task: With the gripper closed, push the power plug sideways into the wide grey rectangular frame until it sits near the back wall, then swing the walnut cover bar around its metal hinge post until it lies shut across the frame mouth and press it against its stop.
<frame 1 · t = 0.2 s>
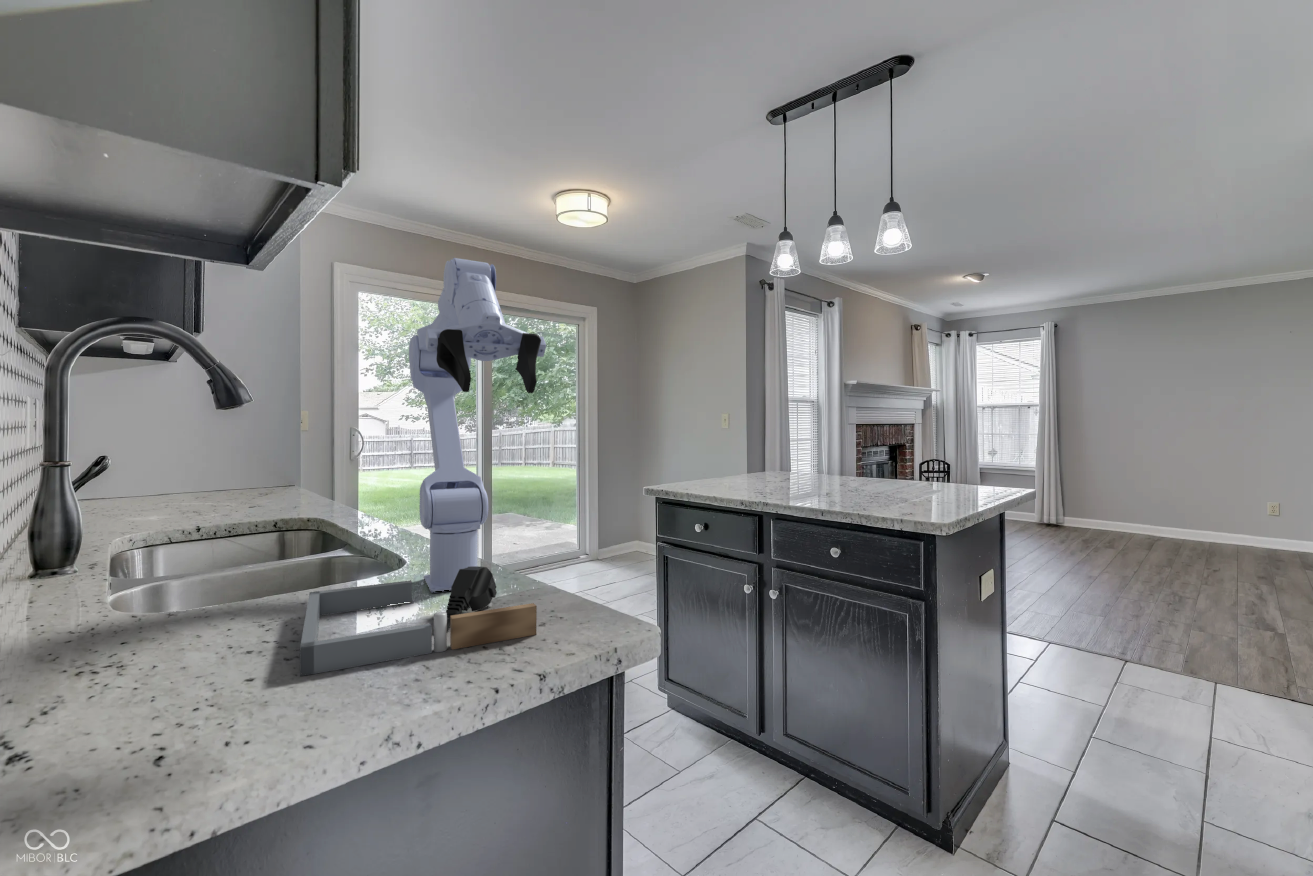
hand: (500, 386, 67), 31 cm above the counter, tool tilted 45°, fingers open, 7 cm apart
power plug: (464, 621, 76), on the counter
grey rectangular frame: (373, 630, 71), on the counter
gate: (494, 625, 69), point 2 cm above the counter, hinge at 90.0°
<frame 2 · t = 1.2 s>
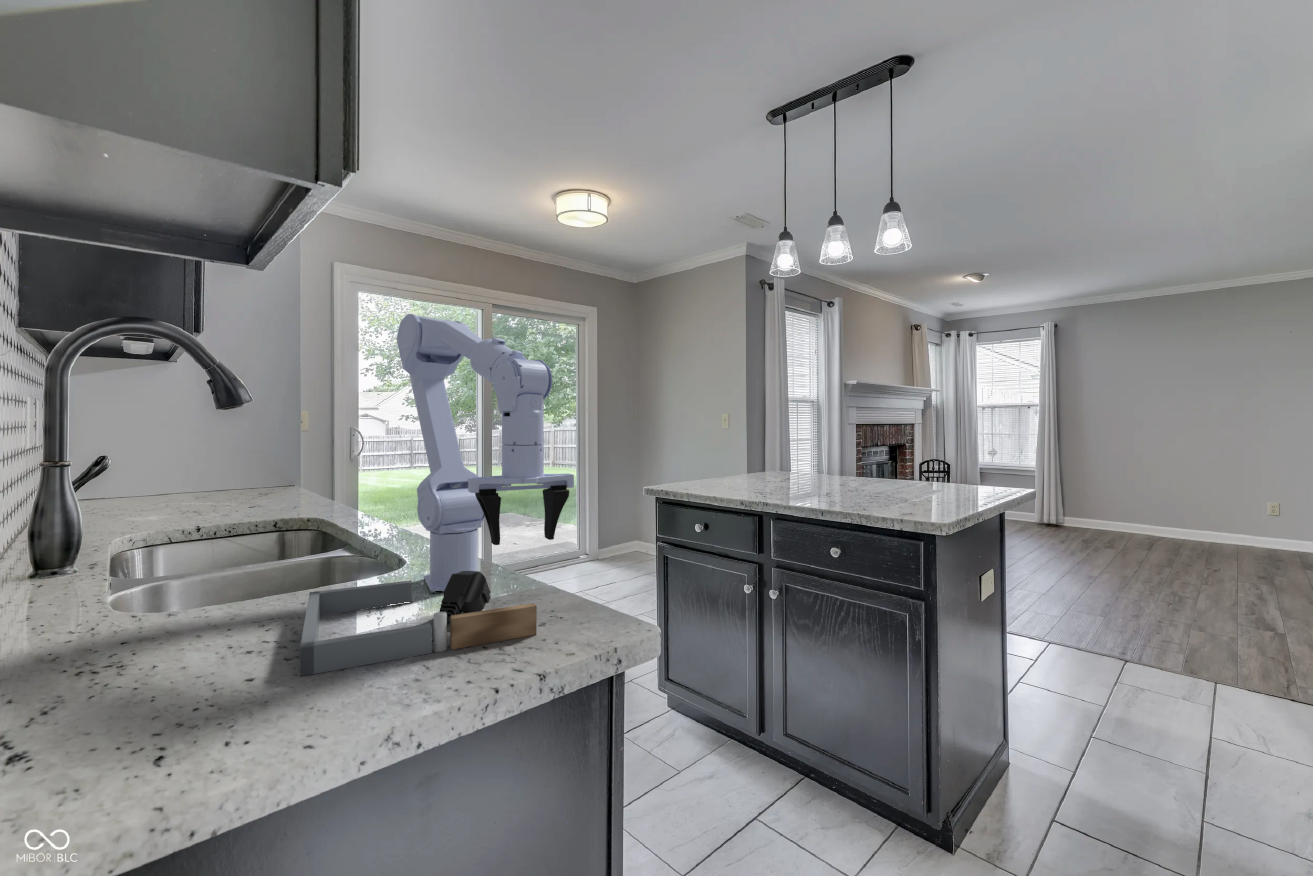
hand: (523, 541, 80), 10 cm above the counter, tool pointing down, fingers open, 7 cm apart
power plug: (456, 628, 74), on the counter
everything else where it was.
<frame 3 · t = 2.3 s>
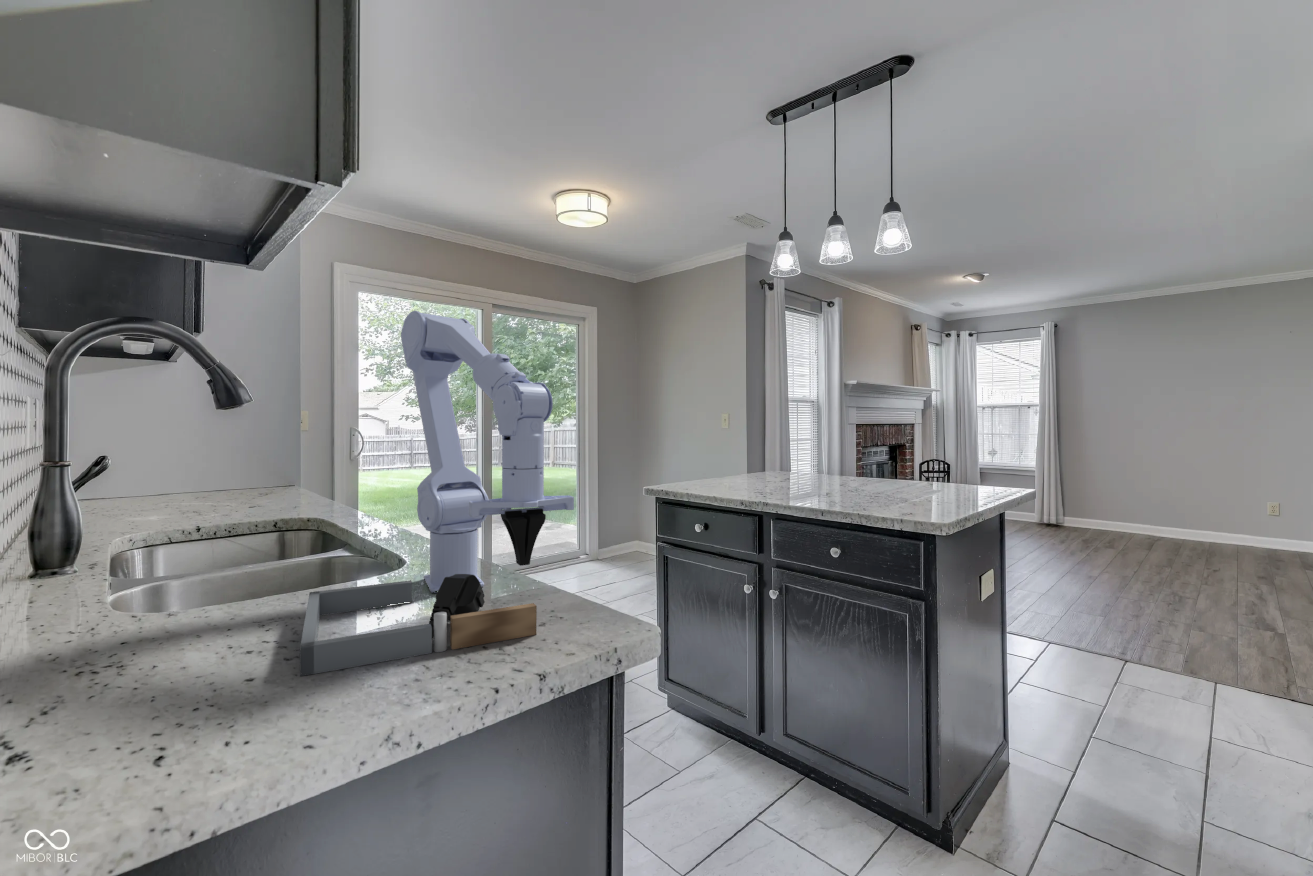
hand: (523, 563, 80), 6 cm above the counter, tool pointing down, fingers closed
power plug: (449, 633, 72), on the counter, touching grey rectangular frame
everything else where it was.
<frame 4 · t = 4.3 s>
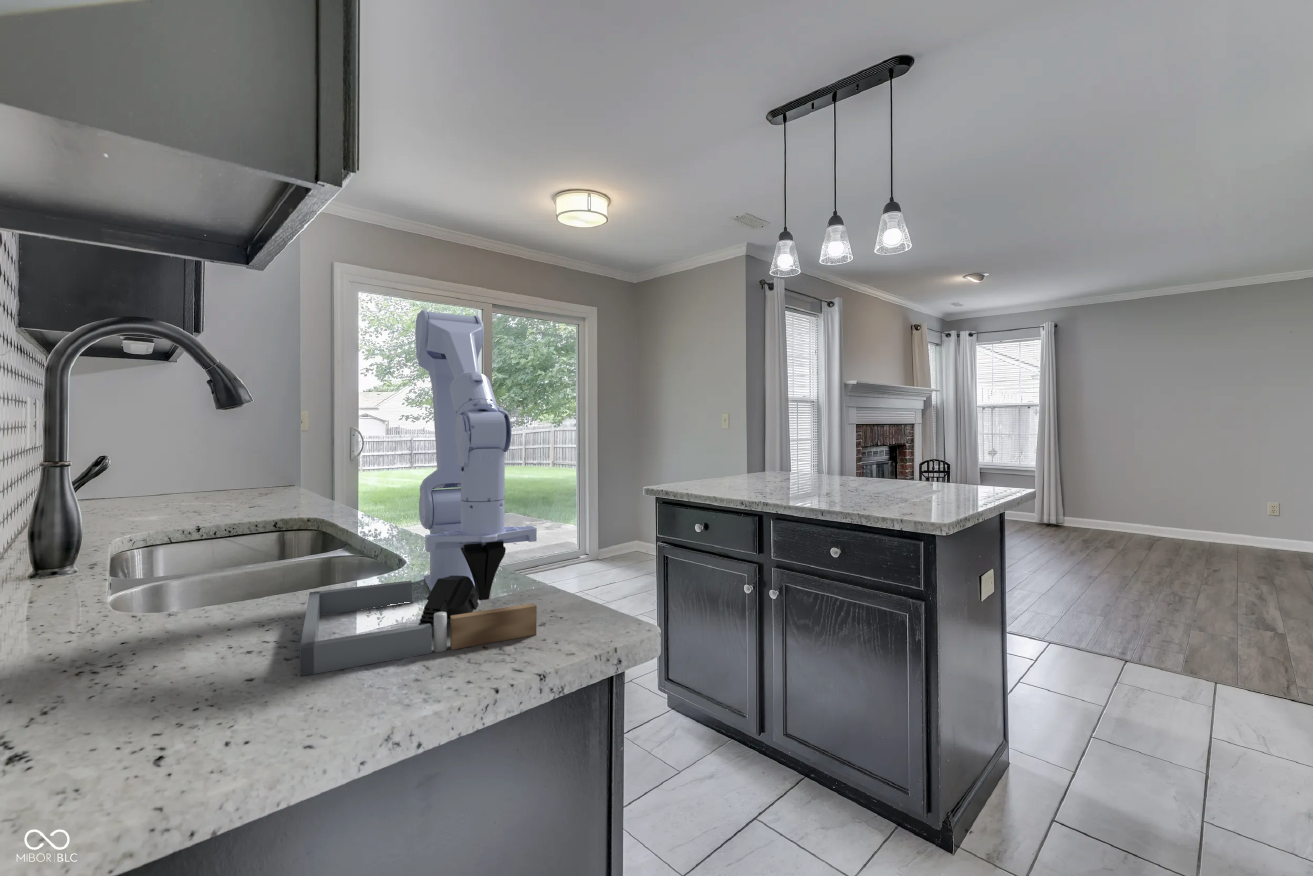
hand: (482, 598, 78), 2 cm above the counter, tool pointing down, fingers closed
power plug: (441, 635, 71), on the counter, touching gripper
everything else where it was.
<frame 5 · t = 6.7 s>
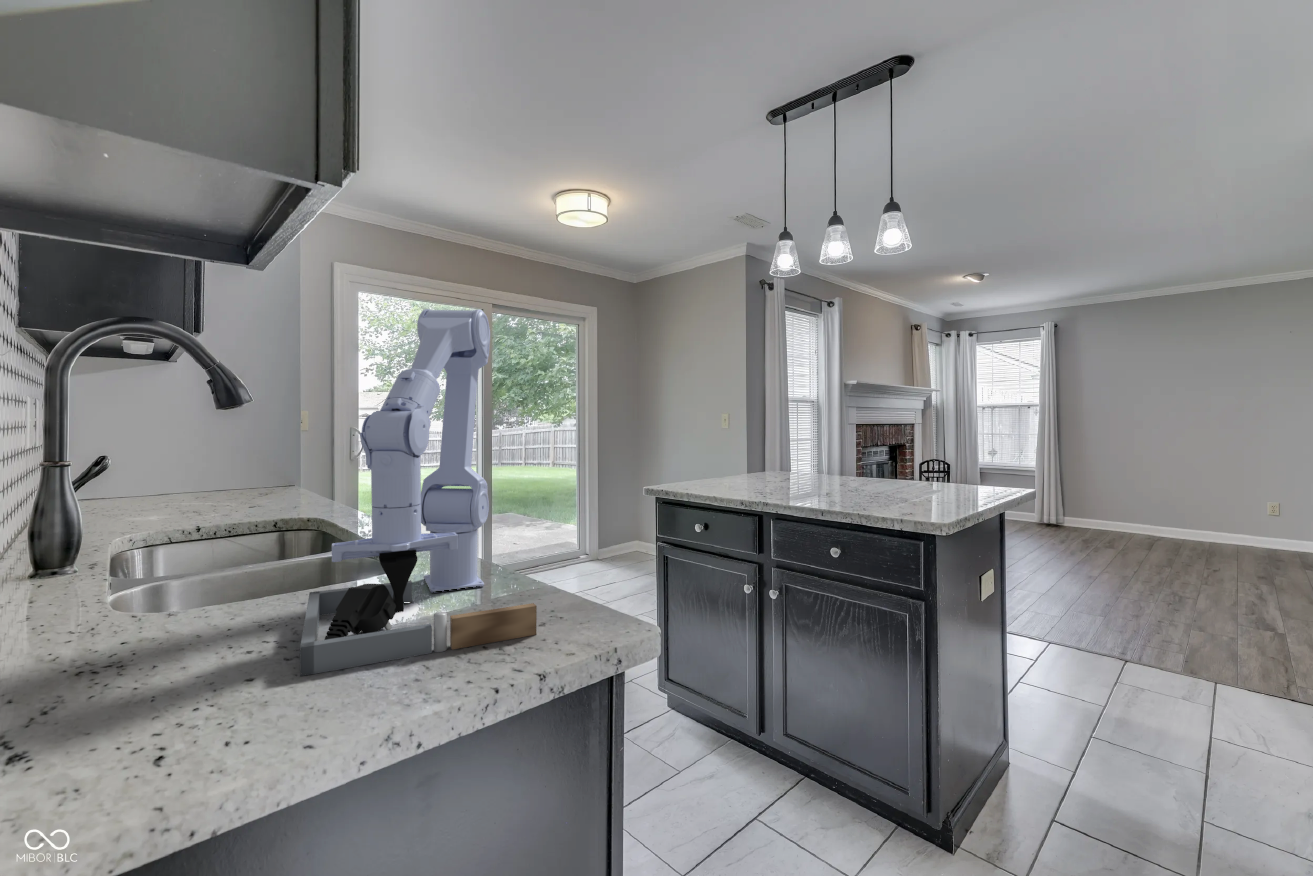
hand: (397, 610, 73), 2 cm above the counter, tool pointing down, fingers closed, pressing on power plug
power plug: (352, 648, 66), on the counter, touching grey rectangular frame, gripper
everything else where it was.
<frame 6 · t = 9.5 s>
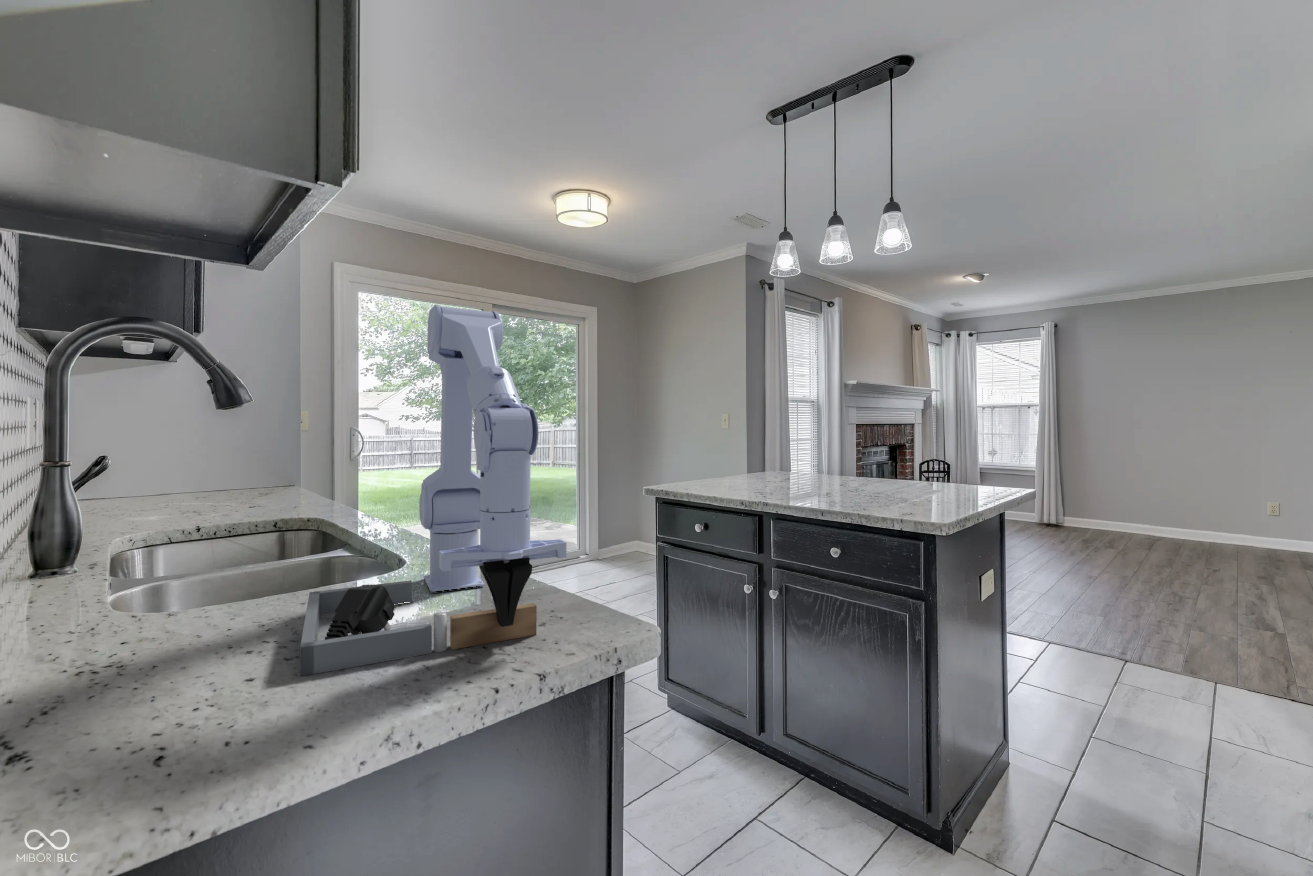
hand: (505, 623, 67), 3 cm above the counter, tool pointing down, fingers closed, pressing on gate
power plug: (352, 648, 66), on the counter, touching grey rectangular frame
gate: (494, 625, 69), point 2 cm above the counter, hinge at 90.0°, touching gripper
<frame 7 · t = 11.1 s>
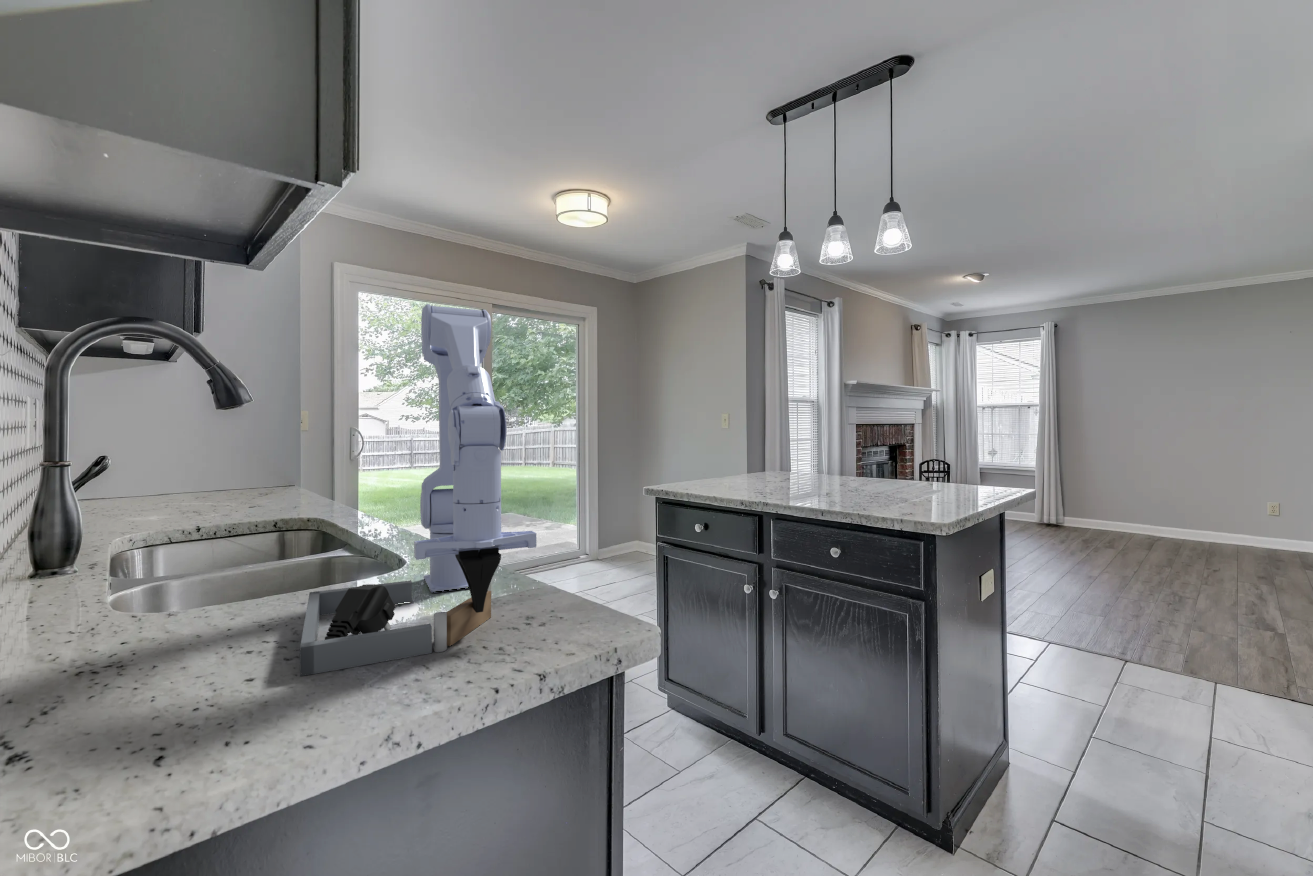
hand: (478, 610, 71), 3 cm above the counter, tool pointing down, fingers closed, pressing on gate
gate: (467, 616, 72), point 2 cm above the counter, hinge at 40.0°, touching gripper
everything else where it was.
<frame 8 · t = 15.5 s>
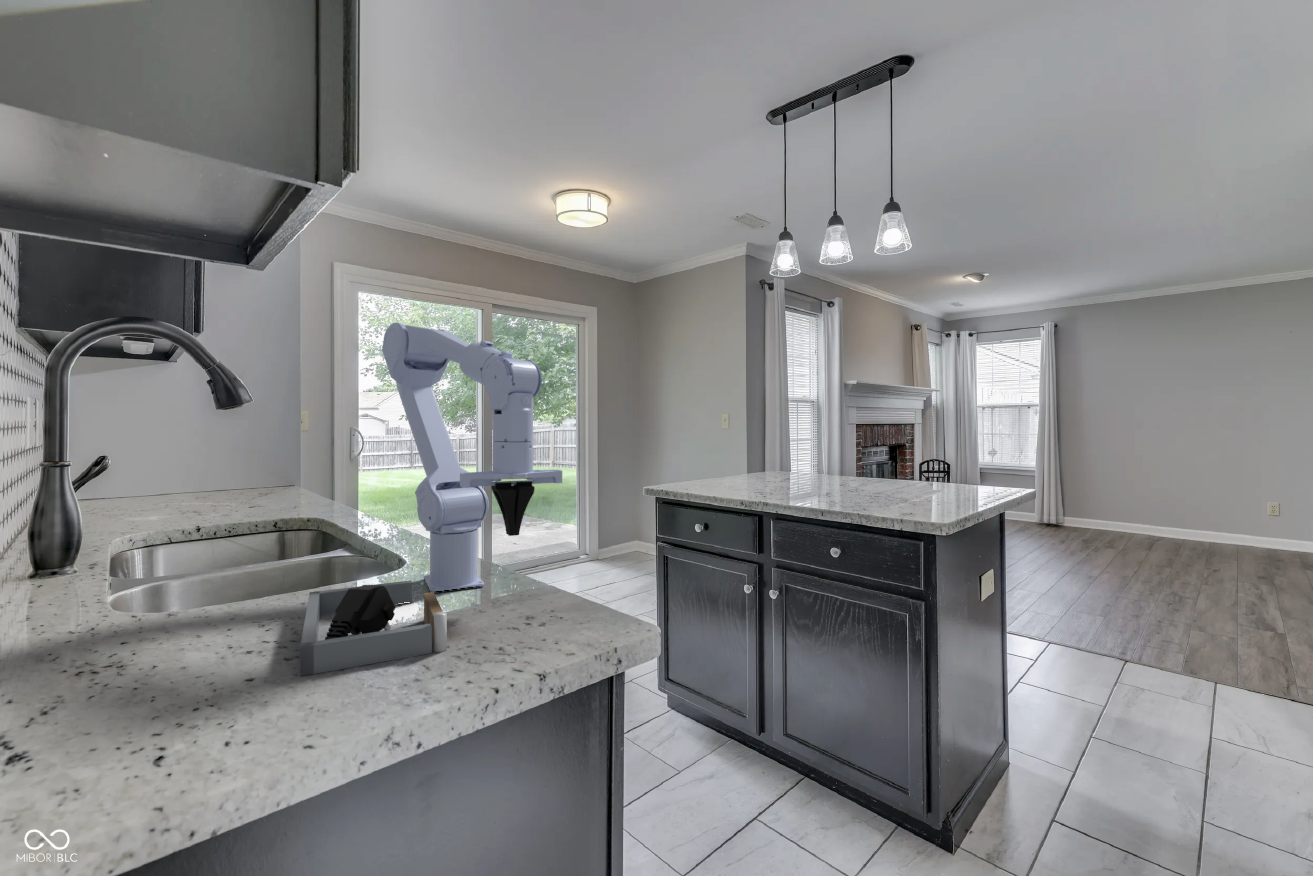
hand: (512, 534, 83), 10 cm above the counter, tool pointing down, fingers closed
power plug: (352, 649, 66), on the counter
gate: (433, 617, 71), point 2 cm above the counter, hinge at 1.0°
at the end: power plug inside the target area (4.2 cm from its centre), on the counter; gate at +1° (first picture: +90°) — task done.
